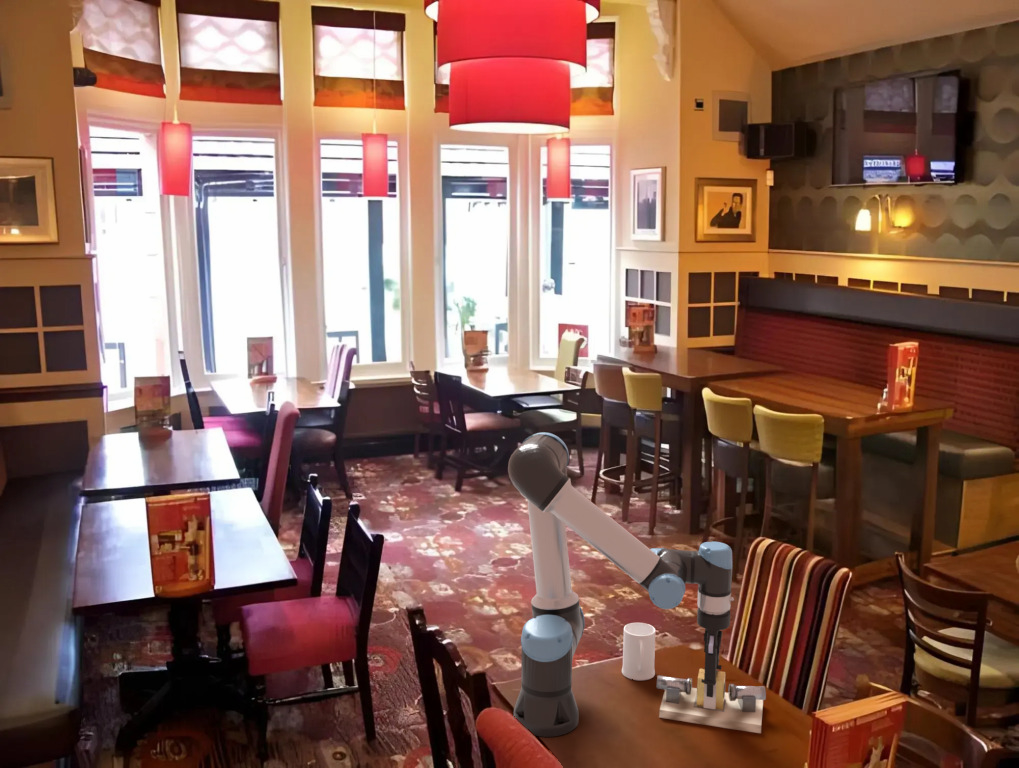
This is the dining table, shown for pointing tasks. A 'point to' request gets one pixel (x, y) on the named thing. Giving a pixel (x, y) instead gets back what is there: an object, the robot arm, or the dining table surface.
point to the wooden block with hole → (719, 689)
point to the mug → (638, 651)
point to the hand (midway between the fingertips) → (710, 701)
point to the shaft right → (746, 696)
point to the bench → (713, 713)
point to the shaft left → (674, 687)
